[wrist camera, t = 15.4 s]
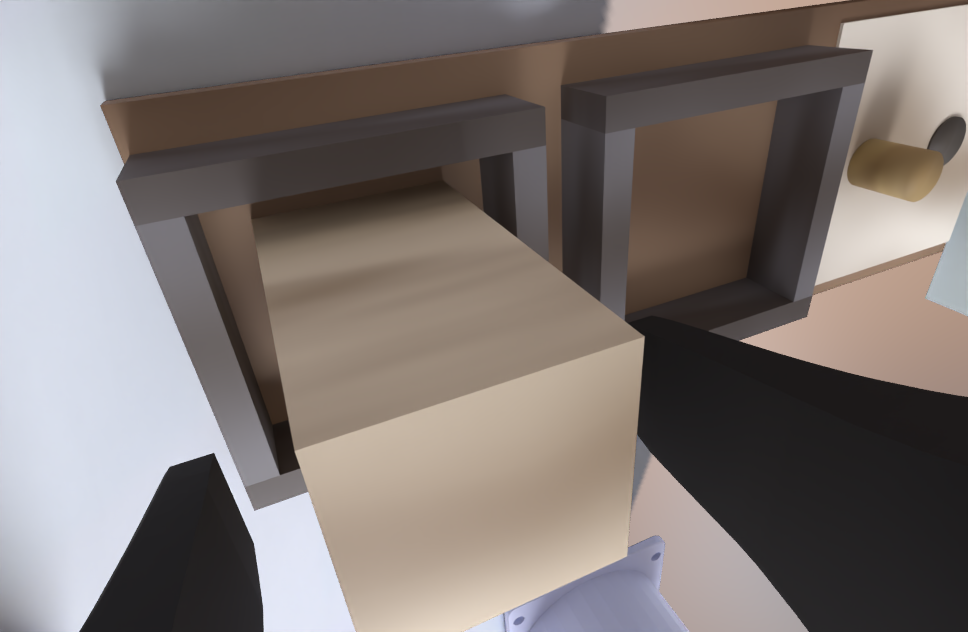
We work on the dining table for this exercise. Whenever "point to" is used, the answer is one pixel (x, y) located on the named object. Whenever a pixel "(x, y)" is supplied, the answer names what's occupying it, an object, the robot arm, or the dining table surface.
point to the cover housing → (953, 268)
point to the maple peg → (448, 406)
